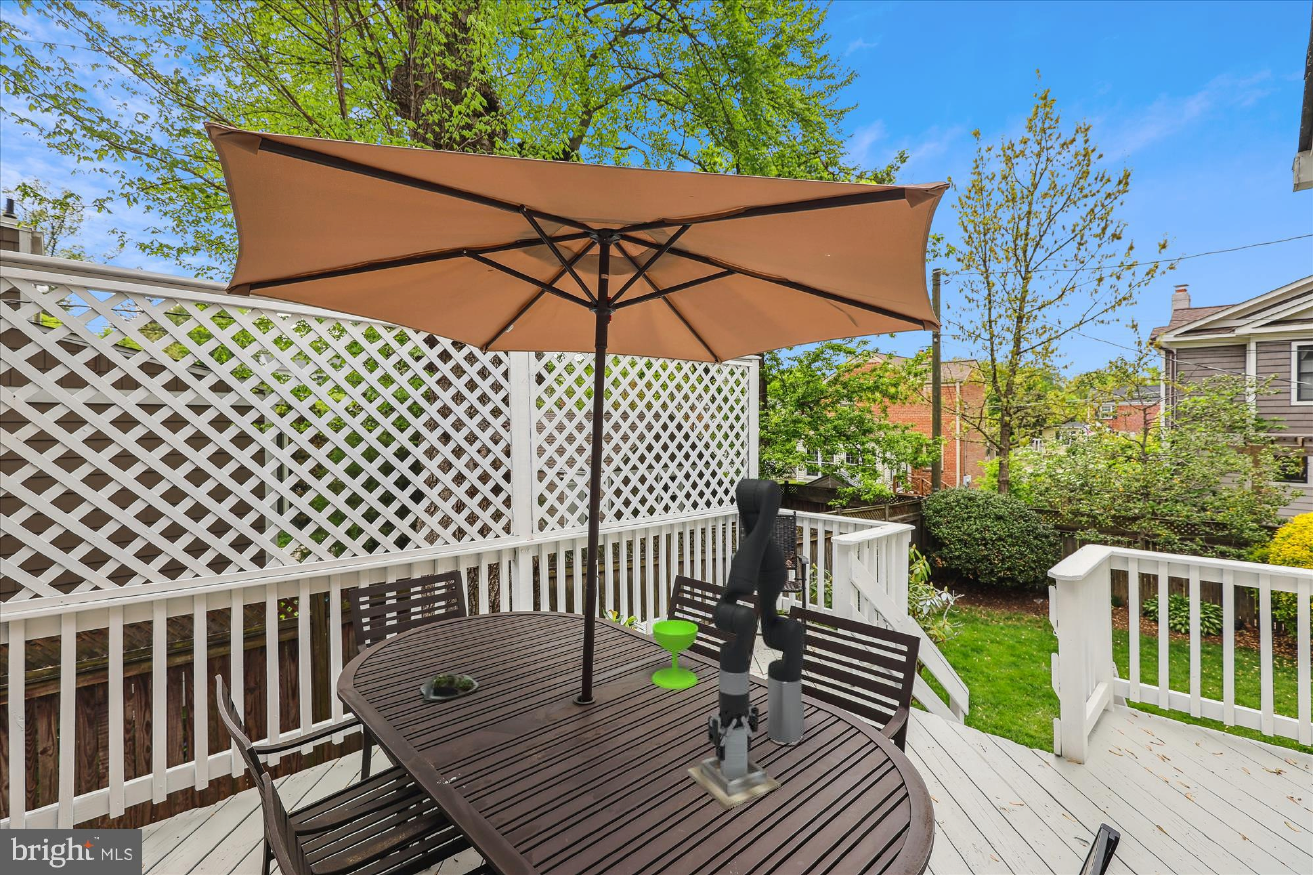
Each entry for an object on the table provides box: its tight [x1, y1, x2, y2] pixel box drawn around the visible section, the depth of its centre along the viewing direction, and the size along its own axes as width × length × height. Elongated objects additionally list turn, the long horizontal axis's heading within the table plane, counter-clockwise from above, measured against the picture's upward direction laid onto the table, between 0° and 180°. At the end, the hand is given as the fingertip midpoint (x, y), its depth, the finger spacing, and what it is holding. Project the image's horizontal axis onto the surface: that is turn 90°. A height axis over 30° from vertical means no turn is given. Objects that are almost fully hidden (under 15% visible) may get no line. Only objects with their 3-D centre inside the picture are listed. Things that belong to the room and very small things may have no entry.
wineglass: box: [651, 619, 699, 690], centre depth 194 cm, size 16×16×18 cm
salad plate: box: [419, 673, 479, 703], centre depth 184 cm, size 19×18×5 cm
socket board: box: [687, 755, 782, 811], centre depth 135 cm, size 16×16×4 cm
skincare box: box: [720, 726, 748, 780], centre depth 135 cm, size 6×4×12 cm
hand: (733, 754), depth 135 cm, fingers closed on skincare box, 7 cm apart
